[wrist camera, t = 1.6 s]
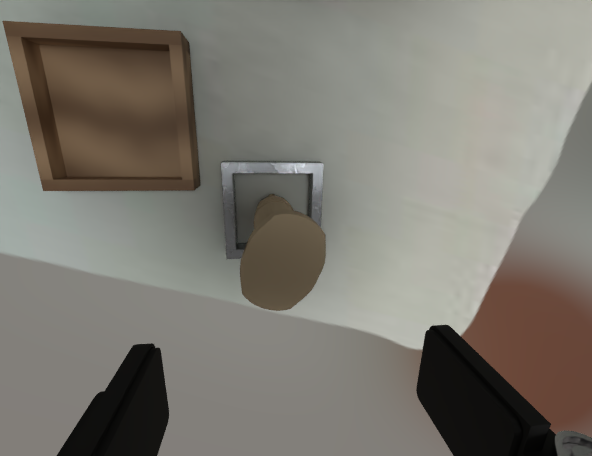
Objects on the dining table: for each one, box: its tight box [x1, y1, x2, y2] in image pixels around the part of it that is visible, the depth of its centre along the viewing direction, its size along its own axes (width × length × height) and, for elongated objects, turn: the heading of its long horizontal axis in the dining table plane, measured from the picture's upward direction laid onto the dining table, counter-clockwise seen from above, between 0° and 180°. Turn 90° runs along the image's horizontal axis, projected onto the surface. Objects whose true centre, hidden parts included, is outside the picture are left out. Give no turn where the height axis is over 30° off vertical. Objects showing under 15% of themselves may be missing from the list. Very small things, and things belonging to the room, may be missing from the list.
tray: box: [3, 21, 200, 191], centre depth 26 cm, size 13×13×3 cm
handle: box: [240, 194, 326, 311], centre depth 25 cm, size 5×6×15 cm
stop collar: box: [221, 161, 323, 259], centre depth 31 cm, size 10×10×2 cm
